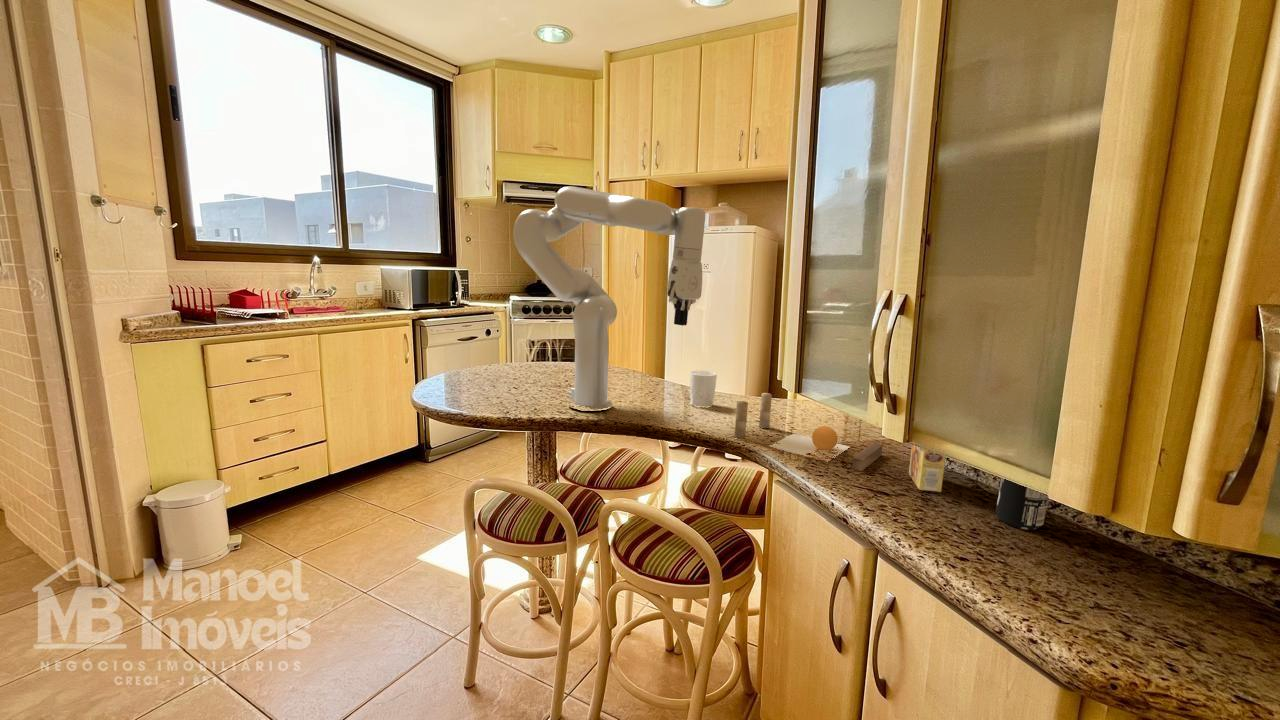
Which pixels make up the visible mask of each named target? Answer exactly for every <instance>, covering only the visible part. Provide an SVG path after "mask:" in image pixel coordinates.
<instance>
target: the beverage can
mask: <svg viewBox="0 0 1280 720" xmlns="http://www.w3.org/2000/svg"><path fill="white" fill-rule="evenodd" d="M997 496H998V497H997V502H996V507H995V508H996V509H995V514H996V516H997V517H998V519H999V520H1000V521H1001V522H1002V523H1004V524H1007V525H1008V526H1012V527H1015V528H1017V529H1022V530H1029V531H1033V530H1038V529H1039V528H1041V527H1043V526H1044V524H1045V518H1046V512H1047V508H1048V507H1047V506H1048V501H1049V496H1048V497H1047V496H1046V495H1044V494H1042V493H1039V492H1036V491H1033V490H1031V489H1029V488H1027V487H1024V486H1021V485H1018V484H1016V483H1013V482H1011V481H1008V480H1006V479H1003V478H1001V477H1000V484H999V490H998V495H997Z"/></svg>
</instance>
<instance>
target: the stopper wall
mask: <svg viewBox="0 0 1280 720" xmlns="http://www.w3.org/2000/svg"><path fill="white" fill-rule="evenodd" d="M883 446H884V445H883V444H881V443H879V442H878V443H876V442H872V443H871V444H869V445H868V446H867V447H866V448H864V449H863V450H861V451H860V452H858V454H856V455H854V456H853V457H852V464H851V470H853V469H855V470H854V471H857V470H858V472H861V471H862V472H863V471H864V470H865V469H866V467H867V468H868V467H869V466H871V464H872V463H874V462H875V461H876V460H877V459H879V458H880V457H881V456H883V455H882V453H883Z"/></svg>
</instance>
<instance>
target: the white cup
mask: <svg viewBox="0 0 1280 720" xmlns="http://www.w3.org/2000/svg"><path fill="white" fill-rule="evenodd" d="M689 372H690V375H689V379H690V380H689V381H690V383H689V392H690V394H689V395H690V405H691V404H693V405H696V406H706V407H707V406H712V405H713V406H714V398H715V393H716V386H717V385H716V384H717V377H718V373H717V372H715V371H709V370H692V371H689Z"/></svg>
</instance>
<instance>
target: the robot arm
mask: <svg viewBox="0 0 1280 720" xmlns="http://www.w3.org/2000/svg"><path fill="white" fill-rule="evenodd" d="M585 222H586V223H590V224H597V225H602V226H607V227H616V226H617V227H619V226H620V227H627V228H633V229H638V230H641V231H646V232H647V231H648V232H652V233H654V234H657V235H660V236H670V235H672V236H673V235H674V242H673V252H672V260H671V263H670V268H669V273H668V279H667V287H666V294H667V297H668V303H670V304H672V305H673V309H674V318H673V324H674V325H677V326H687V324H688V316H689V315H688V314H689V311H690V309H691V305H693V304H695V303H696V302H697V300H699V299H700V298H701V297H702V290H703V265H702V264H703V263H702V262H701V261H702V254H703V244H704V237H705V235H704V234H705V225H706V212H705V210H704V209H703V208H699V207H693V206H691V207H690V206H683V207H680V208H674V207H670V206H669V205H667V204H666V203H663V202H661V201H657V200H651V199H646V198H645V199H644V198H640V197H636V196H628V195H621V194H618V193H611V192H605V191H601V190H594V189H590V188H584V187H578V186H573V185H572V186H571V185H569V186H564V187H562V188H560V189H559V190H558V191H556V194H555V197H554V207H552V208H551V209H550V210H548V211H545V210H541V209H536V208H530V209H525V210H524V211H522V212H521V213H520V214H519V215H518V216H517V217H516V220H515V222H514V225H513V241H514V245H515V248H516V249H517V251H518V253H519V255H520V256H521V257H522V259H523V260H524V261H525V263H526V264H527V265H528V266H529V267H530V268H531V269H532V270H533V272H534V273H535V274H536V275H537V276H538V277H539V278H540V280H541V281H542V282H543V283H544V284H545V285H546V286H547V288H548V289H549V290H550V291H551V293H553V295H554V296H555V297H556V298H557V299H558V300H560V301H562V302H564V303H567V302H569V303H571V302H572V303H573V304H574V305H575V307H574V310H573V315H572V320H573V321H572V322H573V330H574V387H571V388H570V389H569V390H568V391H567V392H566V395H567V396H571V400H572V401H574V403H575V404H577V405H580V406H585V407H589V408H590V409H603V408H608V407H611V406H612V405H613V402H612V401H611V400H609V399H608V393H609V392H608V390H609V348H610V347H609V346H610V345H609V340H610V339H609V332H608V327H609V326H611V325H613V324H614V322H615V321H616V319H617V317H618V316H617V315H618V308H617V305H616V303H615V301H614V300H613V298H612V297H611V296H610V295H609V294H608V293H607V292H606V291H605V290H604V288H602V286H601V285H600V284H599V283H598V282H597V281H596V279H594V278H593V276H591V275H590V274H589V273H588V272H587V271H586V270H584V269H581V268H578V267H573V266H571V265H570V264H569V263H568V262H567V261H566V259H564V258H563V257H562V256H561V254H560V253H559V252H558V251H557V250H556V249H555V248H554V247H553V246H552V245H551V244H549V243H553V242H556V241H558V240H559V239H562V238H563V237H564V236H565V235H567V234H568V233H570V232H571V231H573V230H575V229H576V228H577V227H579V226H580V225H582V224H583V223H585ZM612 407H613V406H612Z"/></svg>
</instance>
